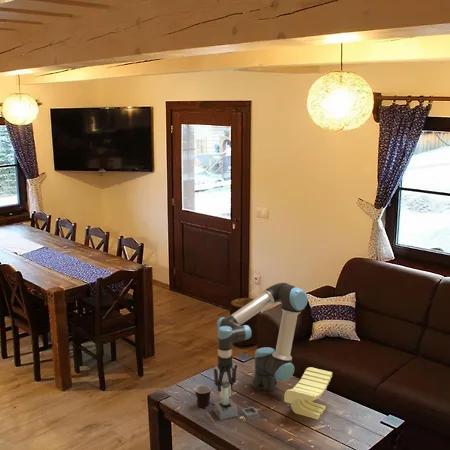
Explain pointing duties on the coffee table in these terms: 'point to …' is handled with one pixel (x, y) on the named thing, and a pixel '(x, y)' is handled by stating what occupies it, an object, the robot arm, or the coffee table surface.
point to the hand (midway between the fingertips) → (225, 395)
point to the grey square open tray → (250, 413)
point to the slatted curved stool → (309, 392)
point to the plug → (225, 393)
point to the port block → (225, 410)
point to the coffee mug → (202, 396)
